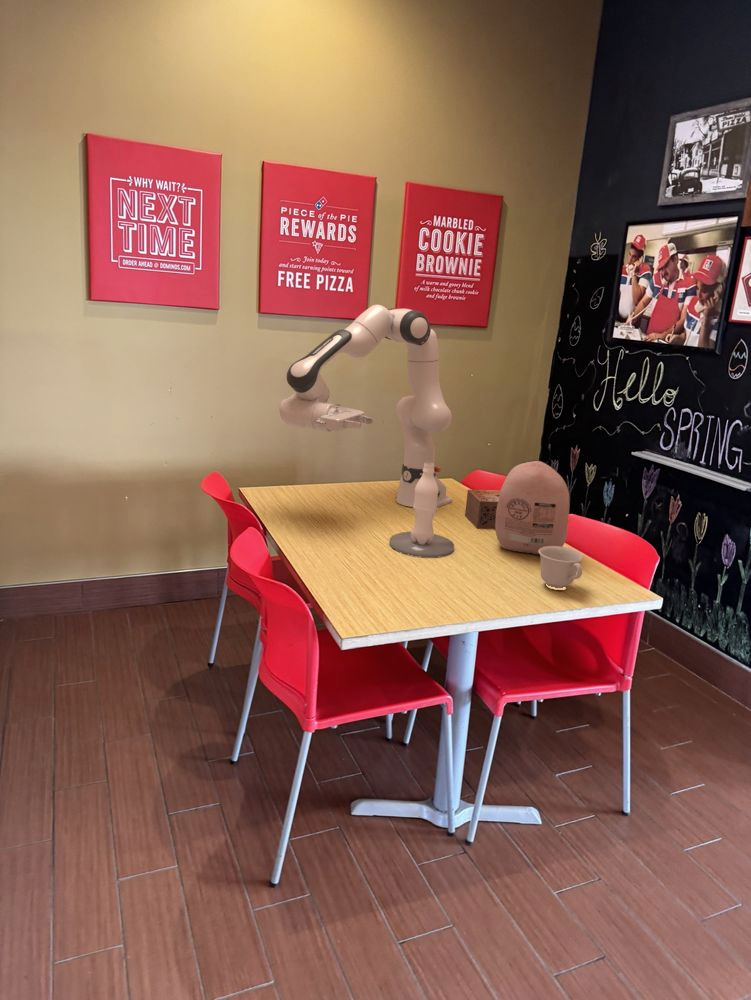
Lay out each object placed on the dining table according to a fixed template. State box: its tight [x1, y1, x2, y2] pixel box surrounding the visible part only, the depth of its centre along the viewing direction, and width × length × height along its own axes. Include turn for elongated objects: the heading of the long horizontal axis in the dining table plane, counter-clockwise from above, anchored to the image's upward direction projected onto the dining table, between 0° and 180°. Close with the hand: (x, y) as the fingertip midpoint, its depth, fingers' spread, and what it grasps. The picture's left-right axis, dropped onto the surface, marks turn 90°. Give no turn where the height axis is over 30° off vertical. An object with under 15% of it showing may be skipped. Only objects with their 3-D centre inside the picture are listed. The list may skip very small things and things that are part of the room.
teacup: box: [538, 546, 584, 588], centre depth 197 cm, size 12×15×10 cm
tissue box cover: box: [464, 489, 501, 530], centre depth 252 cm, size 26×14×10 cm, turn 100°
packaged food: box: [495, 459, 570, 555], centre depth 221 cm, size 22×20×30 cm
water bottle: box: [410, 463, 438, 545], centre depth 220 cm, size 7×7×25 cm
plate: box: [388, 531, 455, 558], centre depth 223 cm, size 20×20×1 cm
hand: (366, 423), depth 224 cm, fingers open, 8 cm apart
